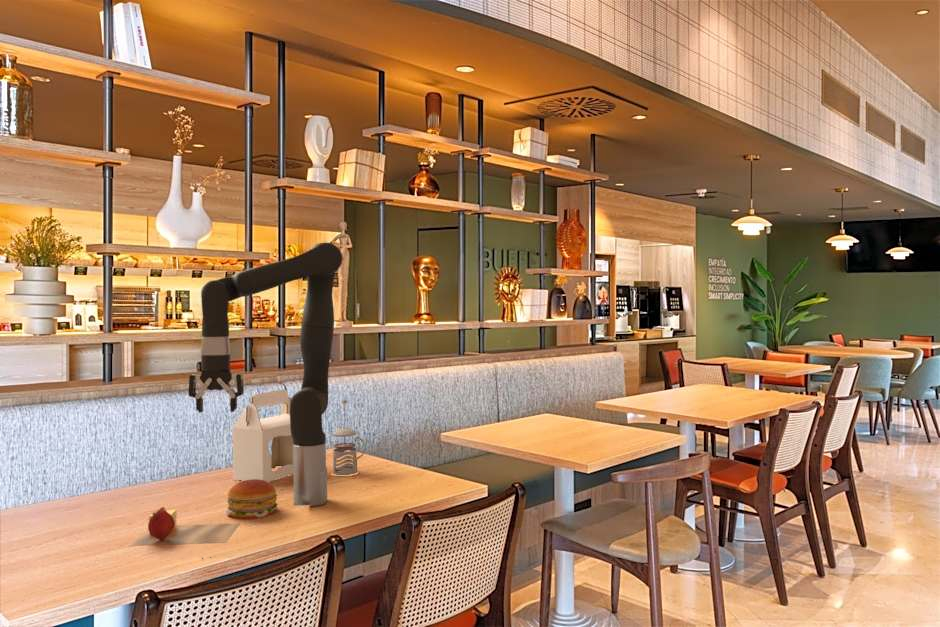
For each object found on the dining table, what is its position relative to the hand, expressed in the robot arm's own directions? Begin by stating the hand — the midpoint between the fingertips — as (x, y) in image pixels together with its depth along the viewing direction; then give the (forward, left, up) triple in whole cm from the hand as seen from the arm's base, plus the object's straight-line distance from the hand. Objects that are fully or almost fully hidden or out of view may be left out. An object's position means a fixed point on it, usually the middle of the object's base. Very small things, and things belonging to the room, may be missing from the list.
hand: (216, 411), depth 204 cm
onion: (+7, +26, -27) cm, 38 cm away
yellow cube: (+9, +18, -27) cm, 34 cm away
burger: (-10, +4, -28) cm, 30 cm away
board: (+2, +23, -28) cm, 36 cm away
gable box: (-7, -44, -28) cm, 52 cm away
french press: (-32, -43, -28) cm, 61 cm away
